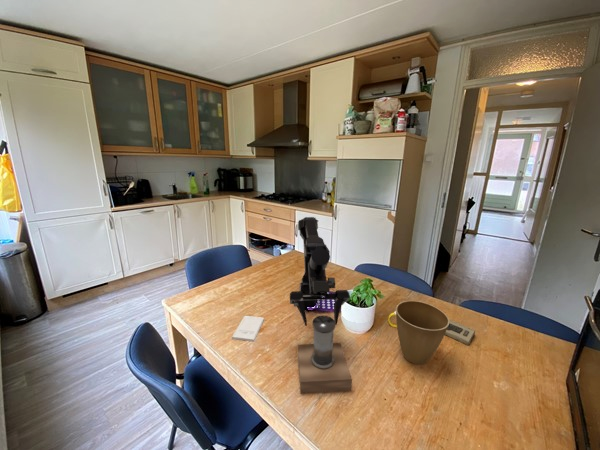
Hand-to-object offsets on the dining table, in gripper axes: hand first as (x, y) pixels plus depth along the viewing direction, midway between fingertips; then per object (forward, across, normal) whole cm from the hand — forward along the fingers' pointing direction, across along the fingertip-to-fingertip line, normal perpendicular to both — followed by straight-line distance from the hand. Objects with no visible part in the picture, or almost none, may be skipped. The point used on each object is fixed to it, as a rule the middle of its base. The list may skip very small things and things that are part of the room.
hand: (321, 325), depth 77 cm
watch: (-1, +32, +20) cm, 37 cm away
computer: (+1, +50, +18) cm, 53 cm away
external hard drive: (-2, -24, +21) cm, 33 cm away
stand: (+12, 0, +6) cm, 14 cm away
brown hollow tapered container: (+10, +31, +9) cm, 34 cm away
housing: (+9, 0, +3) cm, 10 cm away
